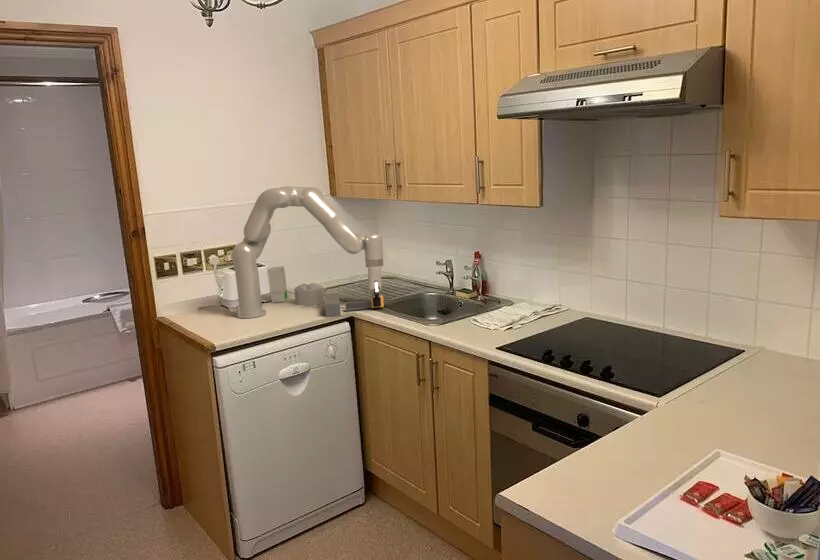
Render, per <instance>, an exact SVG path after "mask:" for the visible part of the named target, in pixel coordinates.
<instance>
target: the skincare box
mask: <svg viewBox="0 0 820 560" xmlns="http://www.w3.org/2000/svg"><path fill="white" fill-rule="evenodd" d="M267 273H268V282H269V291H270V298H271V303H275V304H276V303H284V302H286V301H287V300H288V297H289V296H288V287H287V281H286V270H285V266H275V267H274V266H273V267H269V268H268V269H267Z"/></svg>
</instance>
